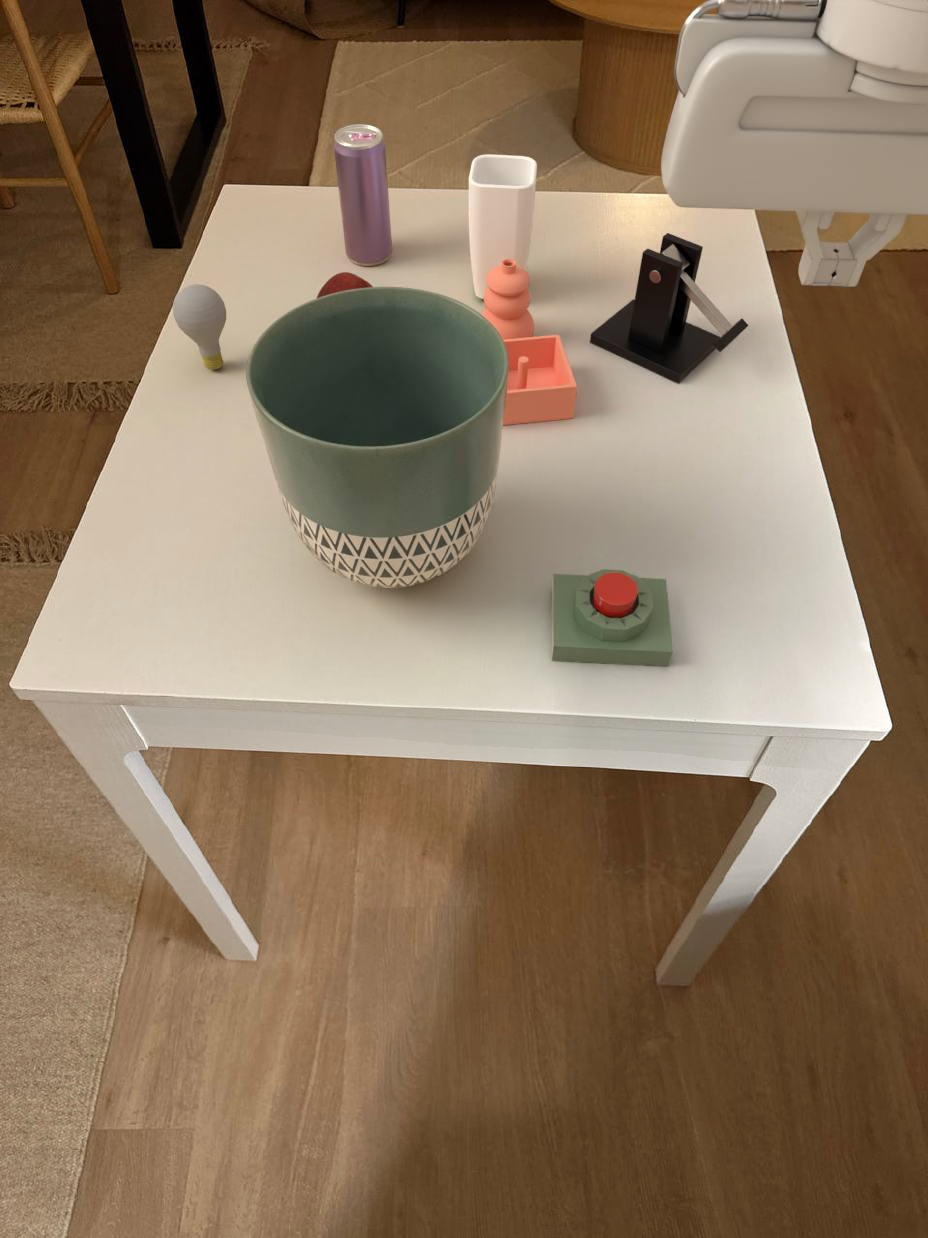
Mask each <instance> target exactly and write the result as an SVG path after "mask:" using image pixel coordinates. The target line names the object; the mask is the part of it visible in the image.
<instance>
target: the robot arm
mask: <svg viewBox="0 0 928 1238" xmlns="http://www.w3.org/2000/svg"><path fill="white" fill-rule="evenodd" d="M713 10H716V13H717V14H716V13H715V14H712V13H711V14H709V13H708V12H711V11H713ZM673 79H674V83H675V86H676V87H677V90H678V93H677V95H676V98H675V102H674V105H673V109H672V112H671V115H670V119H669V122H668V126H667V129H666V135H665V138H664V143H663V148H662V153H661V159H660V170H661V171H660V173H661V180H662V184H663V188H664V190H665V191H666V193H667V195H668V197H669V198H670V199H671V201H672V202H673V204H674V205H675V206H677V207H679V208H686V209H687V208H689V209H690V208H691V209H718V210H719V209H720V210H722V209H723V210H751V211H753V210H754V211H780V212H783V211H785V212H796V216H797V219H798V223H799V227H800V231H801V233H802V238H803V241H804V244H805V245H804V248H803V251H802V255H801V258H800V261H799V264H798V270H797V271H798V272H797V273H798V277H799V281H800V284H801V286H816V287H817V286H819V287H820V286H821V287H822V286H824V287H849V288H851V287H853V288H854V287H857V285H858V284H859V281H860V279H861V276H862V274H863V271H864V268H865V266H866V263H867V262H868V261H870V260H871V259H872V258H873V257H875V256H876V255H877V254H878V253H879V252H880V251H882V250H883V249H884V248H885V247H886V246H887V245H888V244H890V242H892V241H893V240H894V239H895V238H896V237H897V236H898V235H899V234H901V232H902V229H903V227H904V224H905V222H906V220H907V218H908V216H909V215H911V216H914V215H915V216H928V0H706V1H704V2H702V3H701V4H699V5H698V6H696V8H695V9H693V10H692V11H691V13H690V14H689V15H688V16H687V17H686V19H685V21H684V22H683V24H682V26H681V29H680V31H679V35H678V41H677V45H676V52H675V57H674V63H673ZM835 213H843V214H845V213H847V214H867V215H868V217H869V219H868V220H867V221H866V222H865V223H864V224H863V225H862V226H861V227H860V228H859V229H858V230H857V231H856V232H855V234H854V235H853V236H851V238H850V239H849V240H848V241H847V242H846V241H821V239H820V236H819V232H818V229H819V230H828V229H830V227H831V224H832V222H833V219H834V215H835Z"/></svg>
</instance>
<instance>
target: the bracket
mask: <svg viewBox="0 0 928 1238" xmlns="http://www.w3.org/2000/svg"><path fill="white" fill-rule="evenodd" d="M660 244H661V245H660V250H659V252H658V251H655V250H653V249H651V248H646V249H645V250H643V251H642V254H641V259H640V267H639V270H638V271H639V272H638V279H637V283H636V290H635V295H634V298H633V299H632V300H630V301H629V302H628V303H627V304H625V305H624V306H623V307H622V308H620V310H618V311H617V312H616V313H614V314H613V315H612V316H610V317H609V318H608V319H606V320H605V322H603V323H602V324H601V325H599V326H598V327H597V328H596V329H595V330H593V331H592V332H591V333H590V338H589V343H591V344H593V345H595V346H596V347H599V348H601V349H603V350H605V351H608V352H609V353H612V354H614V355H616V356H619V357H621V358H622V359H625V360H627V361H629V362H631V363H633V364H635V365H637V366H640V367H642V368H644V369H646V370H648V371H651V372H653V373H655V374H656V375H659V376H661V377H663V378H665V379H668V380H670V381H672V382H674V383H676V384H680V383H681V382H682V381H683V380H684V379H685V378H686V377H687V376H688V375H689V374H690V373H692V372H693V371H694V370H695V369H696V368H697V367H698V366H700V365H701V364H702V363H703V361H705V359H707V358H708V357H709V356H710V355H711V354H712V353H713V352H714V351H715V350H717V349H716V347H715V346H714V345H713V344H714V343H715V342H716V341H718V340H719V339H720V338H721V337H722V336H719V335H718V334H715V333H712V332H711V331H708V330H707V329H703V328H702V327H698V326H697V325H694V324H692V323H689V322H687V320H688V315H689V310H690V306H691V302H692V300H691V299H690V298H689V297H688V296H687V295H686V294H685V292H684V291H683V290H682V289H681V288H680V287H679V286H678V285H679V281H680V276H681V271H682V266H683V263H682V262H680V261H677V260H675V259H673V258H670V257H668V256H665V255H663V254H661V253H662V252H663V251H665V250H666V249H667V248H668V247H670V246H671V245H672V244H673V245H674V246H675V247H676V248H677V249H678V250H679V251H680V253H681V254H682V255H683V256H684V257H685V258H686V259H687V261H688V262H689V263H690V264H689V265H688V266H687V267H686V269H685V270H684V271H685V272H686V273H687V274H688V276H689V277H690V278H691V279H692V280H693V281H694V282H695V283H696V279H697V275H698V270H699V266H700V261H701V258H702V254H703V249H704V246H702V245H699V244H697V243H694V242H692V241H689V240H687V239H685V238H682V237H679V236H677V235H674V234H671V233H670V232H667V233H665V234H664V235H663V236H662V239H661V243H660Z"/></svg>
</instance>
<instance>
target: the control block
mask: <svg viewBox="0 0 928 1238" xmlns="http://www.w3.org/2000/svg"><path fill="white" fill-rule="evenodd" d="M611 572H617V573H622V574H625V575H627V576H629V577H630V578H631V579H633V580H634V582H635V583H636V585H637V588H638V593H637V598H636V602H635V606H634V608H633V610H632V611H631V612H630V613H629V614H627V615H625V616H623V617H608V616H606V615H603V614H602V613H600V612H599V611H598V610H597V609H596V608H595V606H594V604H593V593H594V587H595V583H596V581H597V579H598V578H599V577H601V576H602V575H604V574H606V573H611ZM551 584H552V585H551V662H569V663H570V662H571V663H572V662H573V663H591V664H611V665H613V664H614V665H629V666H630V665H631V666H632V665H633V666H647V667H648V666H651V667H669V666H670V663H671V660H672V657H673V654H674V653H673V652H674V648H673V637H672V626H671V618H670V617H671V616H670V605H669V597H668V587H667V579H666V578H653V577H639V576H636V575H635V574H633V573H630V572H628V571H626V570H623V569H607V568H606V569H605V568H603V569H599V570H597V571H595V572H593V573H590V574H568V573H567V574H565V573H564V574H563V573H553V576H552V583H551Z"/></svg>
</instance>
